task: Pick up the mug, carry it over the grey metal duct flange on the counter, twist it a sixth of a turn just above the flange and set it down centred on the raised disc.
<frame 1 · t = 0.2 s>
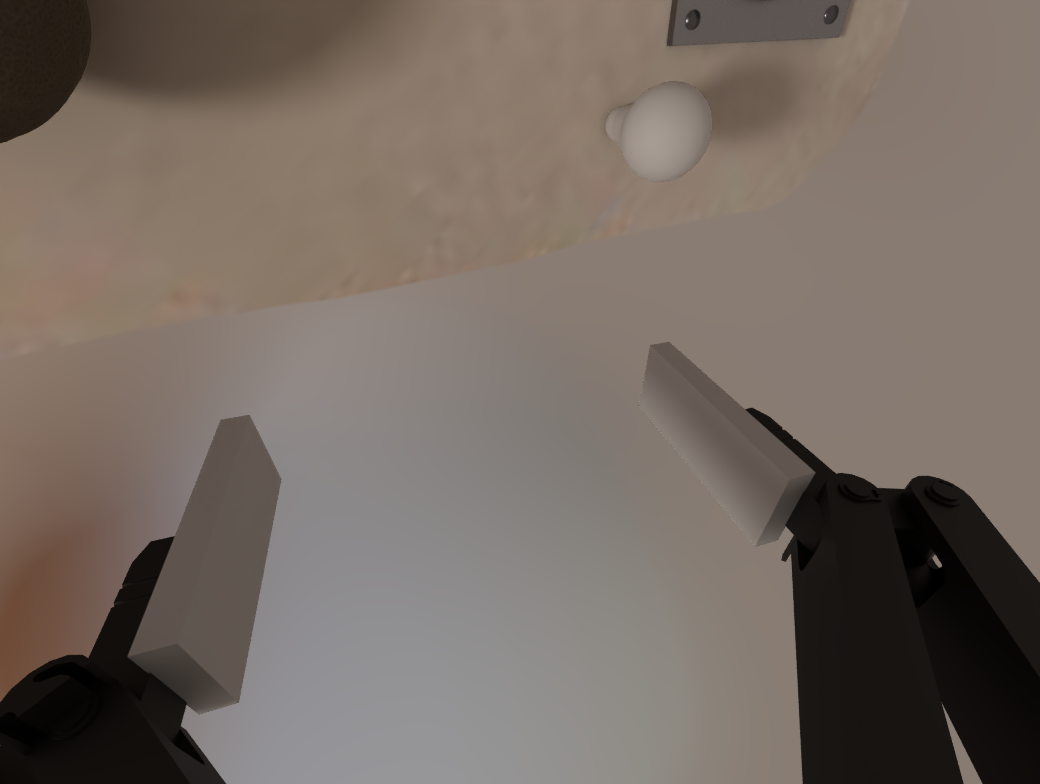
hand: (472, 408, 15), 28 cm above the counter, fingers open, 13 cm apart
lightbulb: (613, 122, 37), on the counter
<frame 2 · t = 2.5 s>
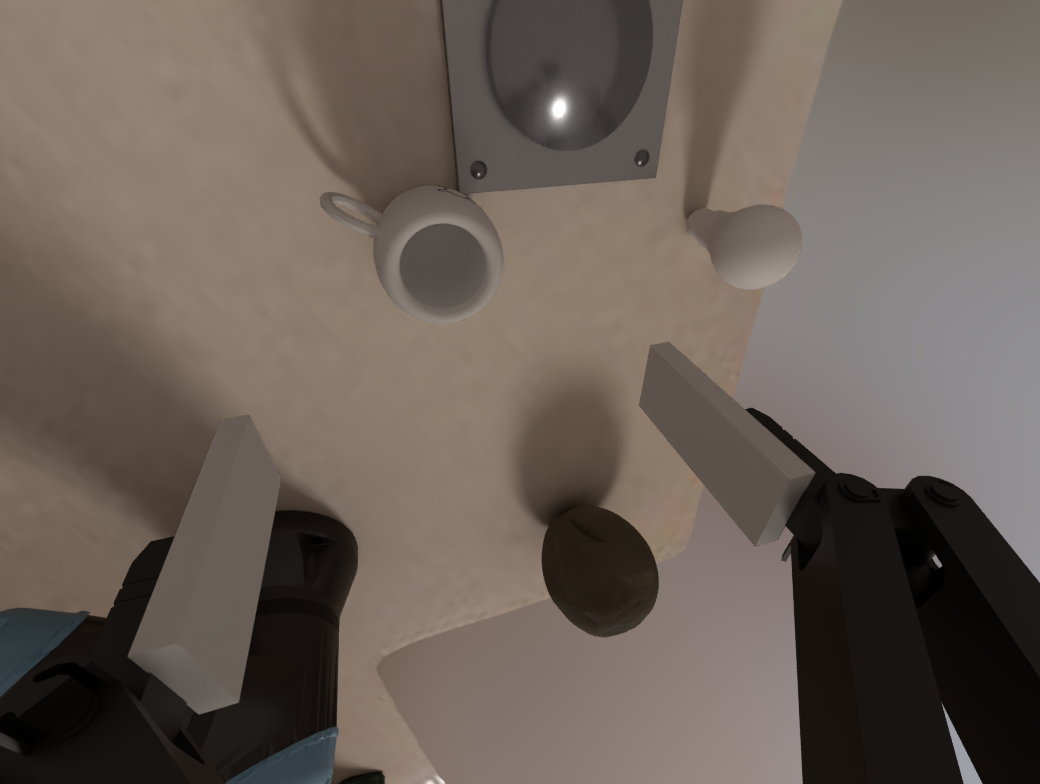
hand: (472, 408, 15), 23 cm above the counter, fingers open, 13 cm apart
lightbulb: (691, 219, 40), on the counter
mug: (407, 224, 33), on the counter
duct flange: (563, 54, 30), on the counter
coconut: (574, 517, 61), on the counter
coffee jar: (360, 779, 93), on the counter
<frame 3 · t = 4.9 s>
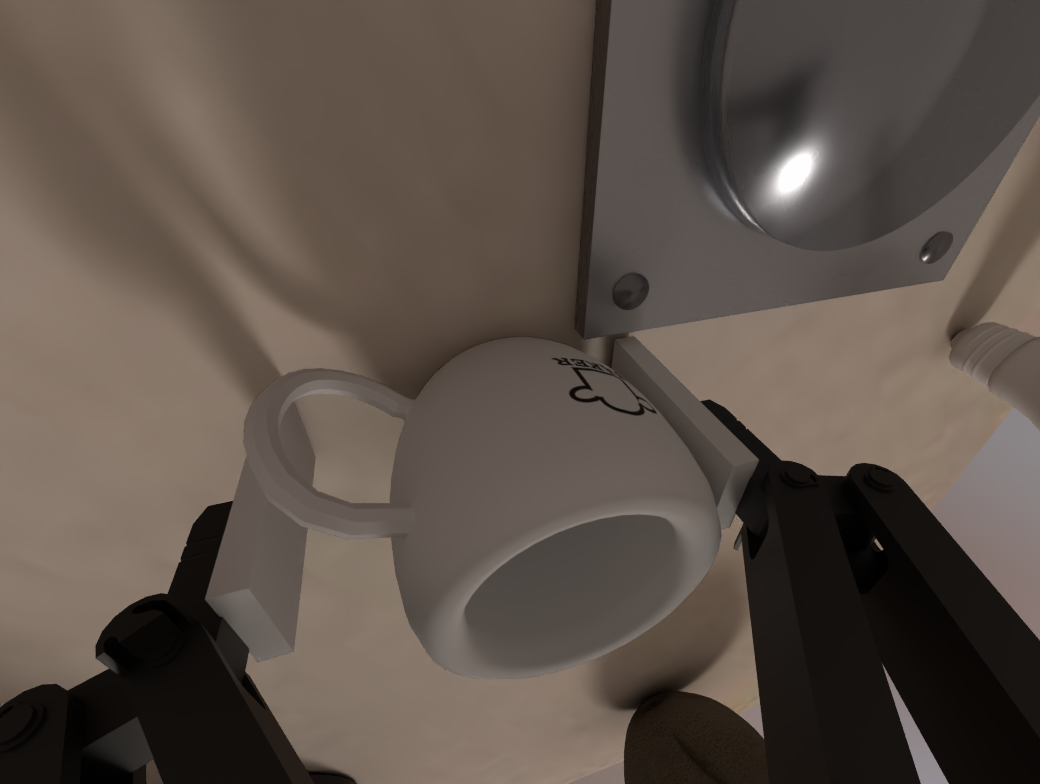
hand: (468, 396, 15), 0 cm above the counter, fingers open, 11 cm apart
lightbulb: (952, 335, 22), on the counter
mug: (457, 391, 16), on the counter, touching gripper
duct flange: (859, 31, 12), on the counter
coconut: (660, 694, 44), on the counter
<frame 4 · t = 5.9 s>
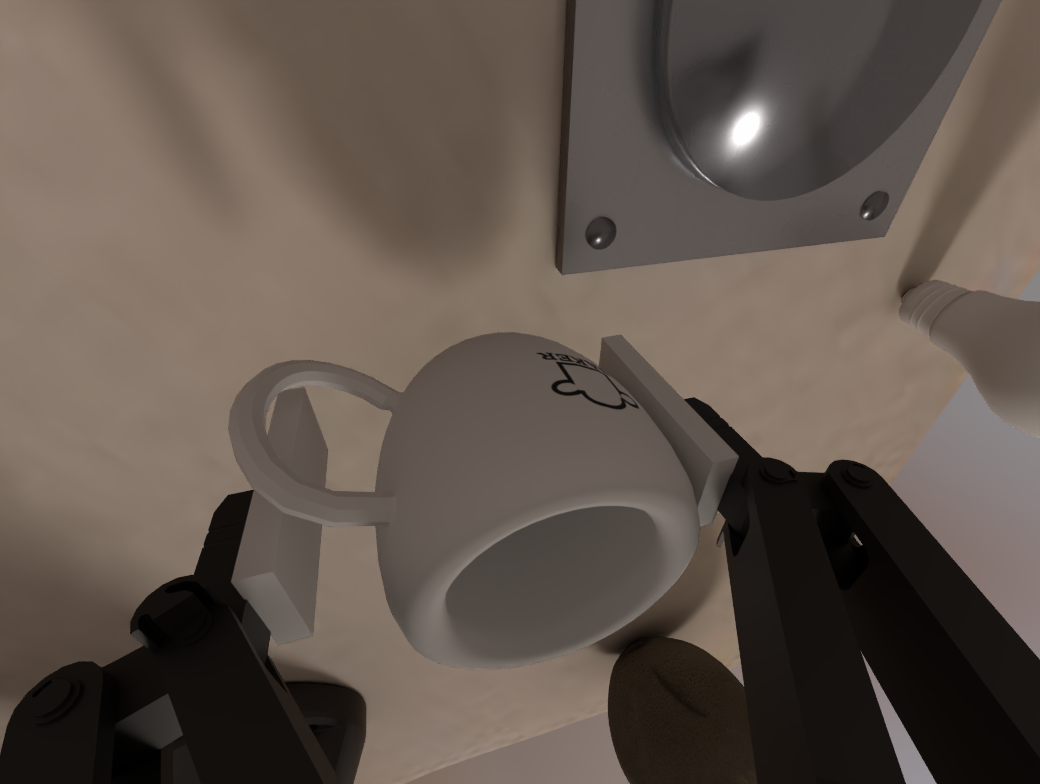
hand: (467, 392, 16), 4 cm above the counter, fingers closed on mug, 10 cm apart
lightbulb: (904, 293, 25), on the counter
mug: (446, 386, 16), point 4 cm above the counter, touching gripper
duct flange: (791, 12, 15), on the counter
coconut: (645, 641, 47), on the counter
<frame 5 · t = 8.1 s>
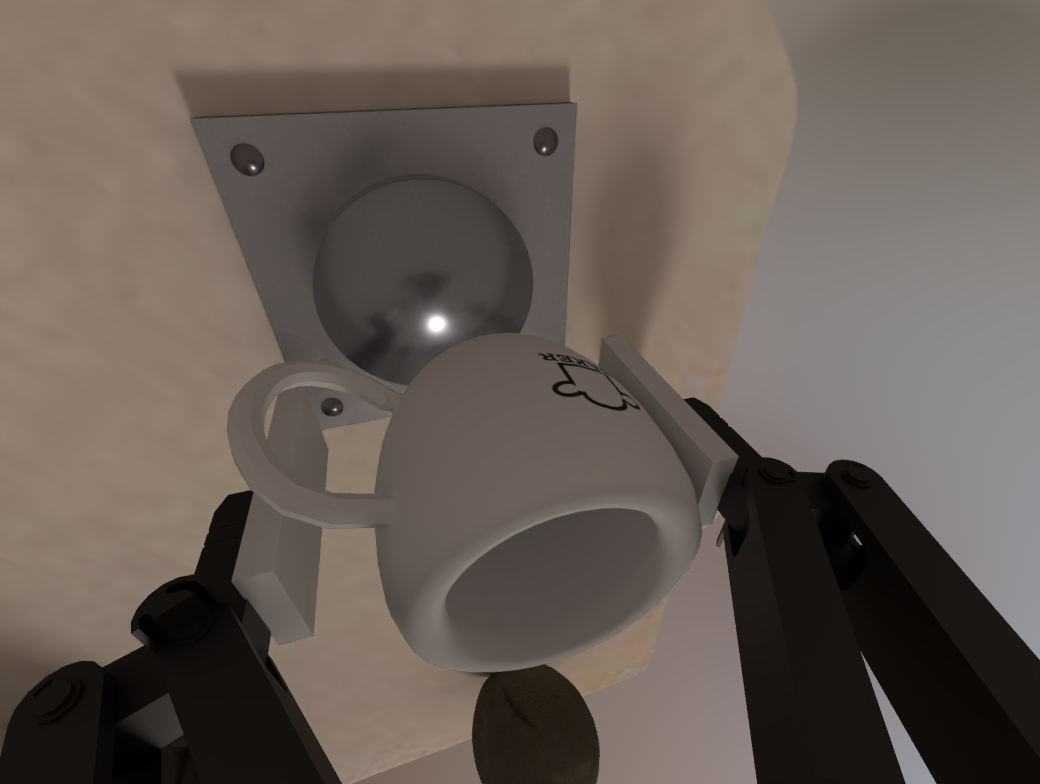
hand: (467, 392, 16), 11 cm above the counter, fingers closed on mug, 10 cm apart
mug: (446, 386, 16), point 10 cm above the counter, touching gripper
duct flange: (426, 282, 24), on the counter
coconut: (515, 664, 55), on the counter
when the fingers open (3 cm above the counter, at t = 10.4 s): mug stays where it is, resting on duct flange.
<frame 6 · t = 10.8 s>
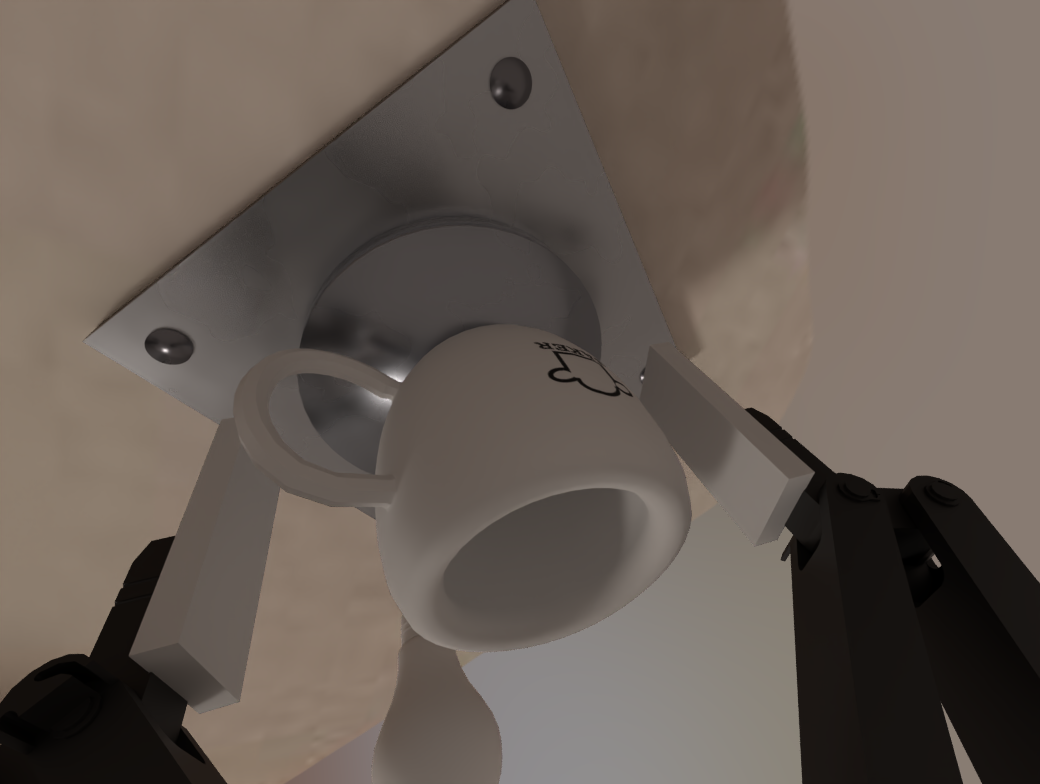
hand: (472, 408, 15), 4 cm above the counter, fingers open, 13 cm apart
lightbulb: (420, 598, 27), on the counter
mug: (445, 377, 16), point 2 cm above the counter, touching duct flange
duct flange: (454, 353, 18), on the counter
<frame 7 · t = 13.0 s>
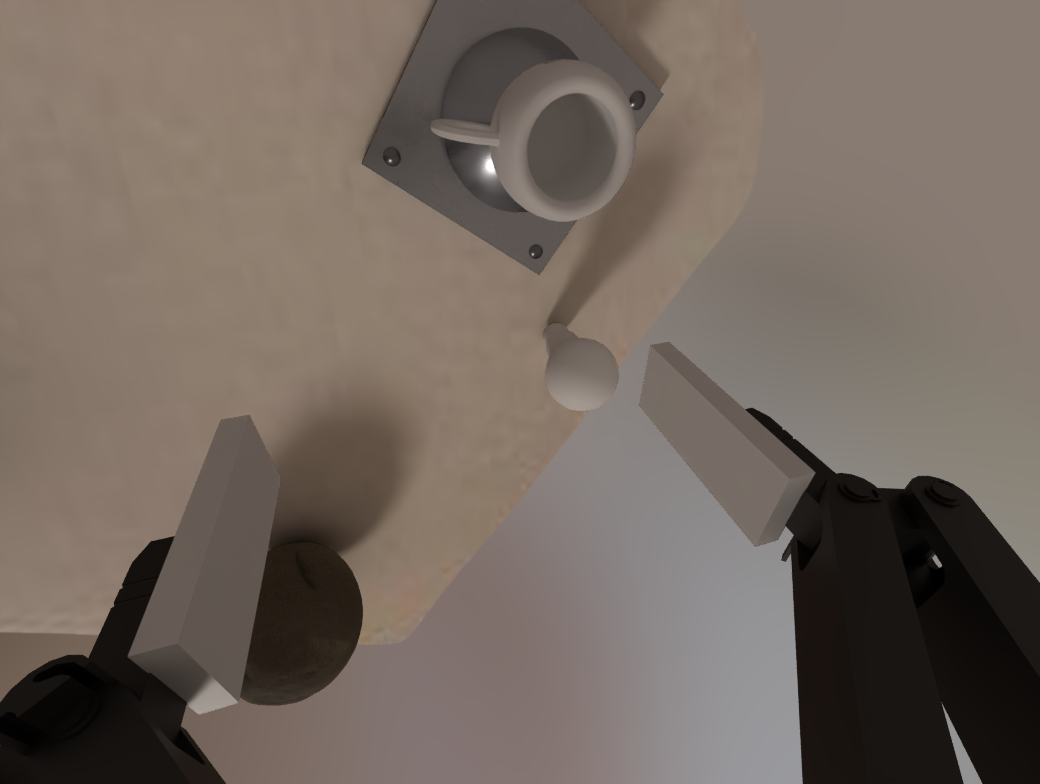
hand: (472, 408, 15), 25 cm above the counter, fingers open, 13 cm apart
lightbulb: (551, 329, 43), on the counter
mug: (512, 131, 31), point 2 cm above the counter, touching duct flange
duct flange: (515, 126, 32), on the counter
coconut: (305, 555, 53), on the counter
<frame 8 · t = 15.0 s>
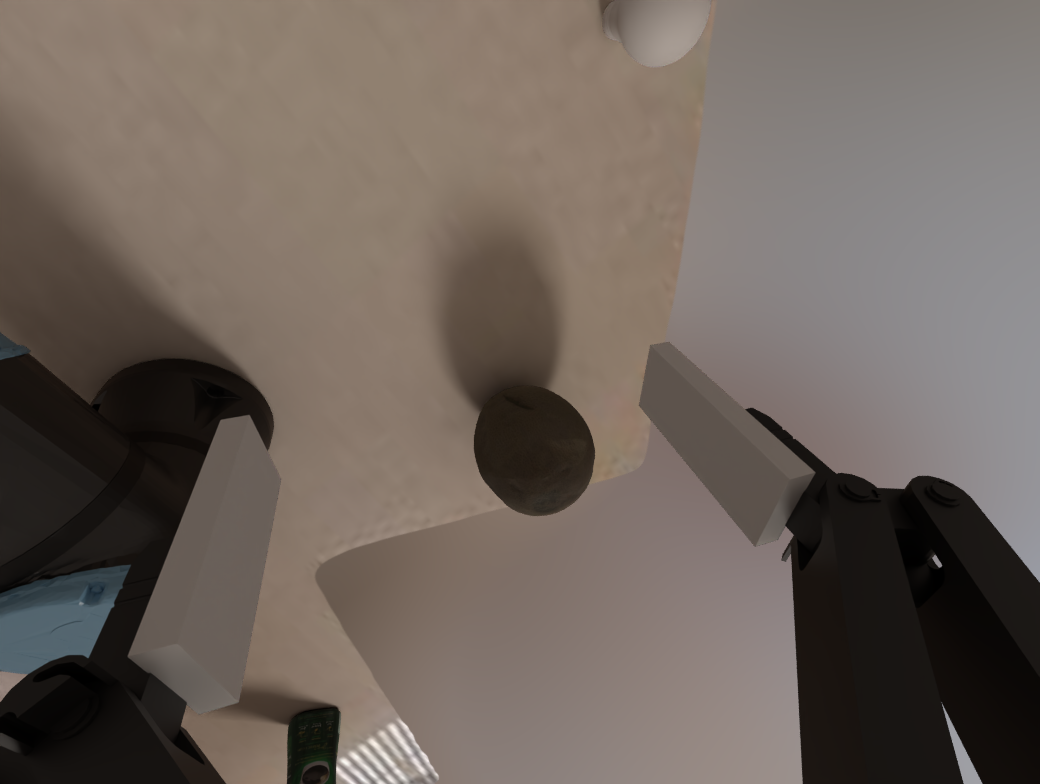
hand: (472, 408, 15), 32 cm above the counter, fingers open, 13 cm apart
lightbulb: (610, 21, 36), on the counter
coconut: (515, 408, 58), on the counter
coffee jar: (315, 715, 90), on the counter
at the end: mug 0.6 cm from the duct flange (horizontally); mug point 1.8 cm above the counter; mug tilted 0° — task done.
